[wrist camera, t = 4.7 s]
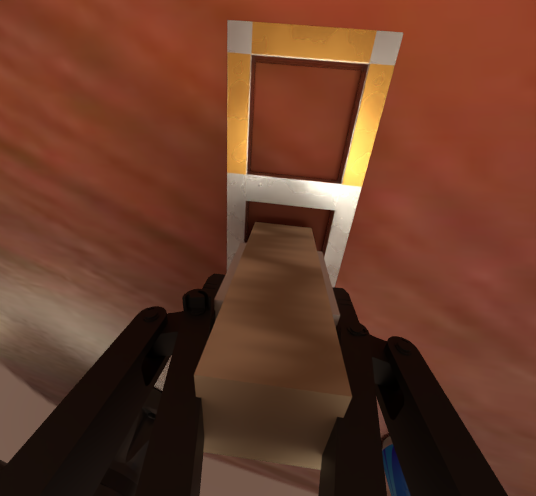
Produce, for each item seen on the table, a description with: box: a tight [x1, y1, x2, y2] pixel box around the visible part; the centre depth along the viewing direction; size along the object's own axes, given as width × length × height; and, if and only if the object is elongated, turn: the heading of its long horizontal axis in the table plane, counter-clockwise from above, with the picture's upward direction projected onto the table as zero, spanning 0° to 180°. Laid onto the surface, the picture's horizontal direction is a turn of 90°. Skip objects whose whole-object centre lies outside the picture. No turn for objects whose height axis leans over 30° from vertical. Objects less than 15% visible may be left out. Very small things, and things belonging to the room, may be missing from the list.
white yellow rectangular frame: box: [227, 20, 403, 287], centre depth 20 cm, size 10×28×2 cm, turn 175°
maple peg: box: [194, 222, 352, 470], centre depth 13 cm, size 4×4×13 cm
